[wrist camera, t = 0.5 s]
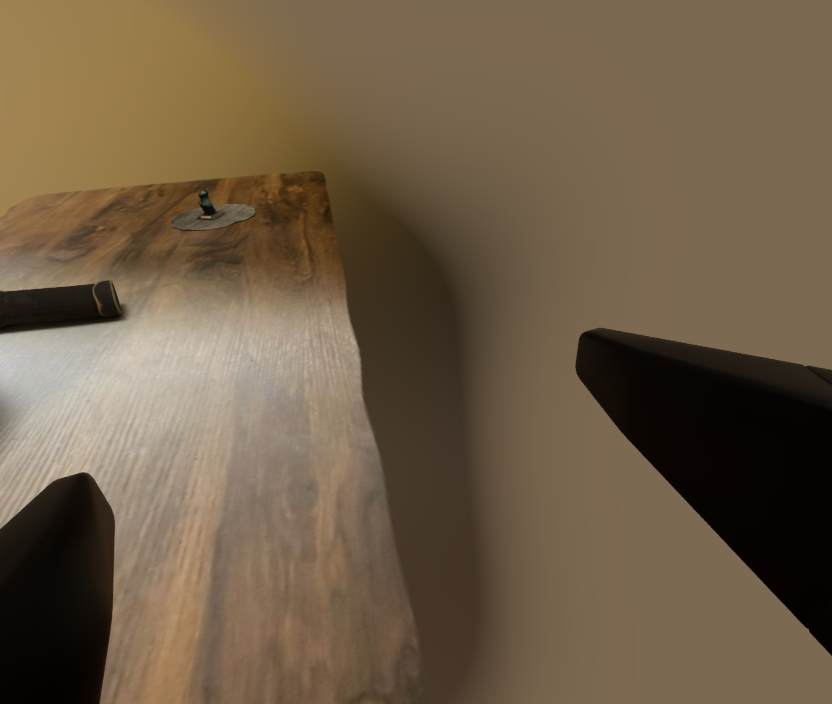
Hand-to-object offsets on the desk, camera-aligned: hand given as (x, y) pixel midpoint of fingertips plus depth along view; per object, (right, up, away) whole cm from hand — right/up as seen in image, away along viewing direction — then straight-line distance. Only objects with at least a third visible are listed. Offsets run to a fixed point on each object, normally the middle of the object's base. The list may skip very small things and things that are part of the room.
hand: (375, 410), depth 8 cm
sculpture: (-30, +22, +61) cm, 71 cm away
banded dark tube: (-40, +3, +35) cm, 53 cm away
